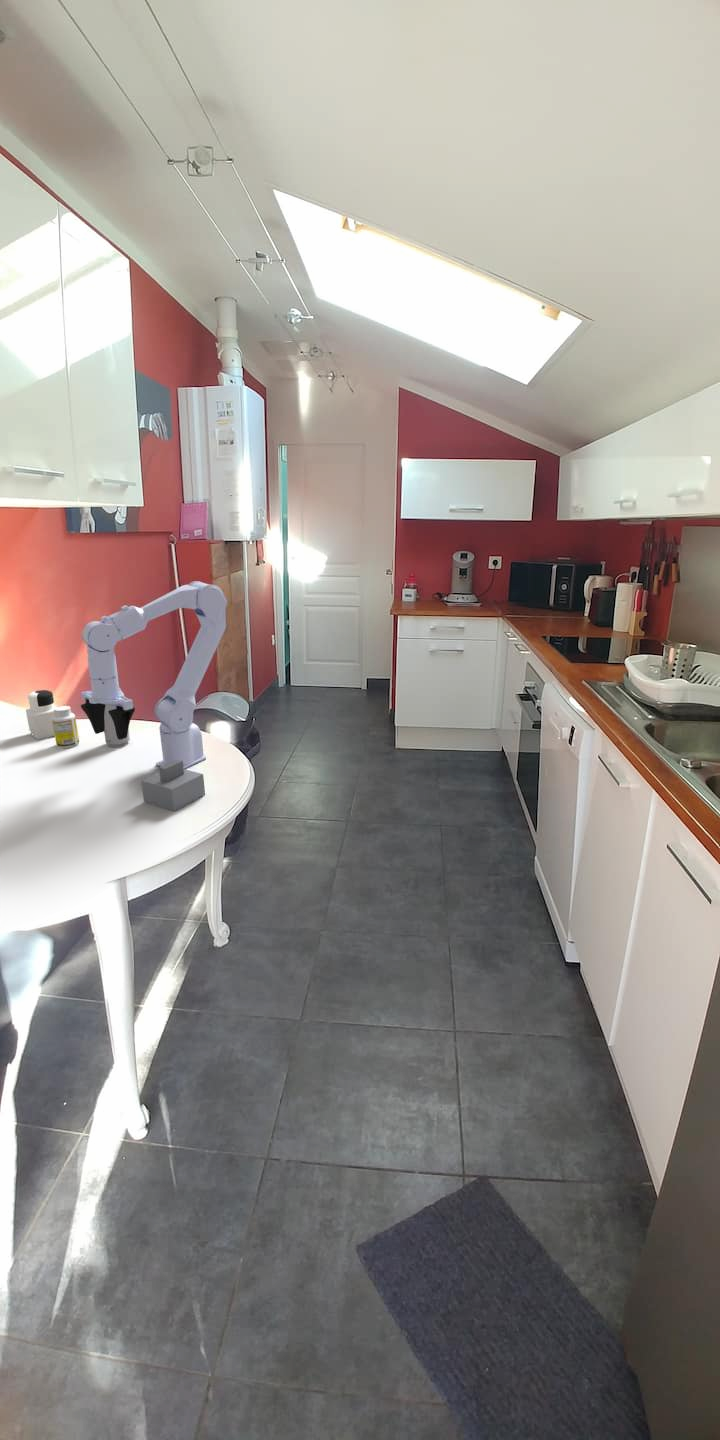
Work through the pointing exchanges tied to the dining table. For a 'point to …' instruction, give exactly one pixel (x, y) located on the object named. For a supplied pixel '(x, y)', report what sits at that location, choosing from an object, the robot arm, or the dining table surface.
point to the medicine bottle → (41, 714)
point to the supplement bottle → (65, 727)
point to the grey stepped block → (173, 786)
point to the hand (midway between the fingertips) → (111, 735)
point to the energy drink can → (113, 729)
